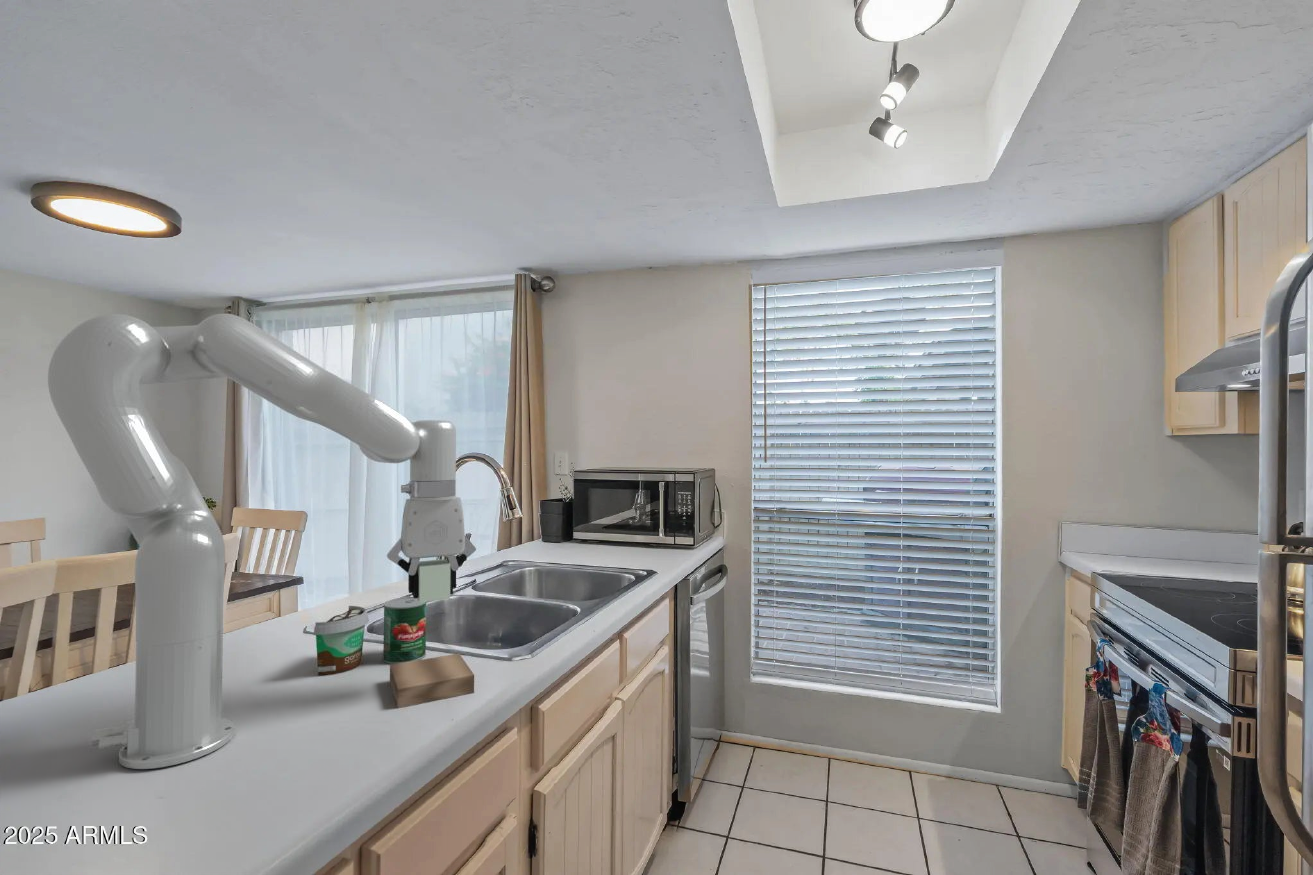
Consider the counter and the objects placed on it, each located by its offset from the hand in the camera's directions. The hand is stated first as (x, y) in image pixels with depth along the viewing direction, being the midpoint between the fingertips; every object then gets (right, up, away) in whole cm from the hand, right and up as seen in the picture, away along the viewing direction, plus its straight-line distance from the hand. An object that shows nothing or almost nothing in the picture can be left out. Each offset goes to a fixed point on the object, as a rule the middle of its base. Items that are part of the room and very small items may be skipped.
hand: (432, 593), depth 103 cm
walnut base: (0, -16, 0) cm, 16 cm away
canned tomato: (-11, -17, +14) cm, 25 cm away
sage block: (0, -1, 0) cm, 1 cm away
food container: (-20, -17, +9) cm, 27 cm away
